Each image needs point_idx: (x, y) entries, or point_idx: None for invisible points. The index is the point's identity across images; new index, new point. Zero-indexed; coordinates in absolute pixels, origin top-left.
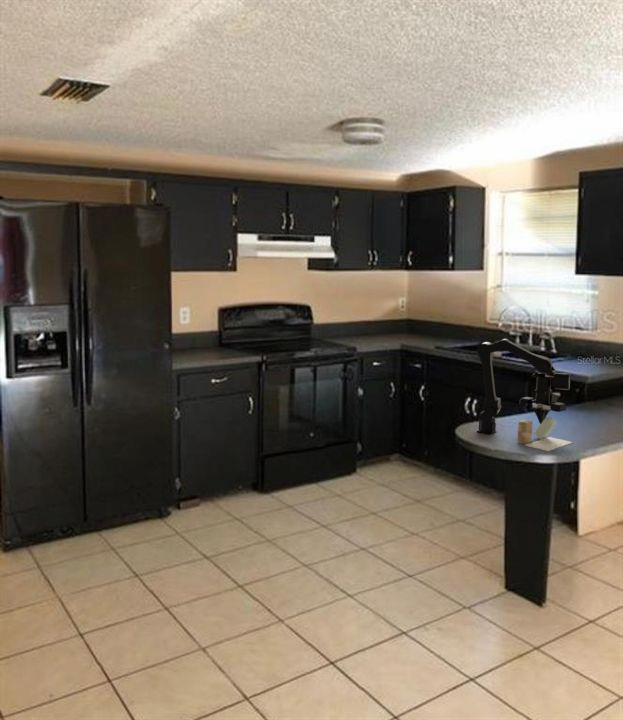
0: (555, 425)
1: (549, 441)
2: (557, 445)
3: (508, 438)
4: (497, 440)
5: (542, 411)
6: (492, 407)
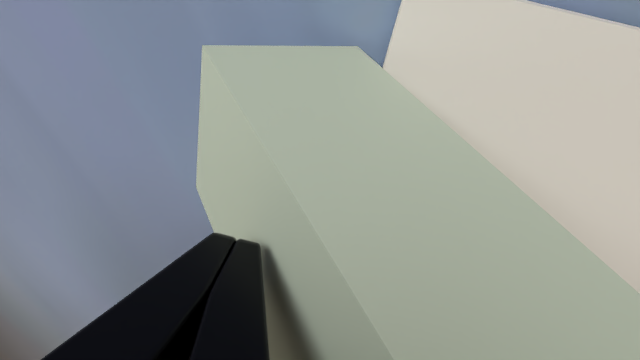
0: (599, 284)
1: None
2: None
3: (52, 264)
4: (48, 346)
5: None
6: None
